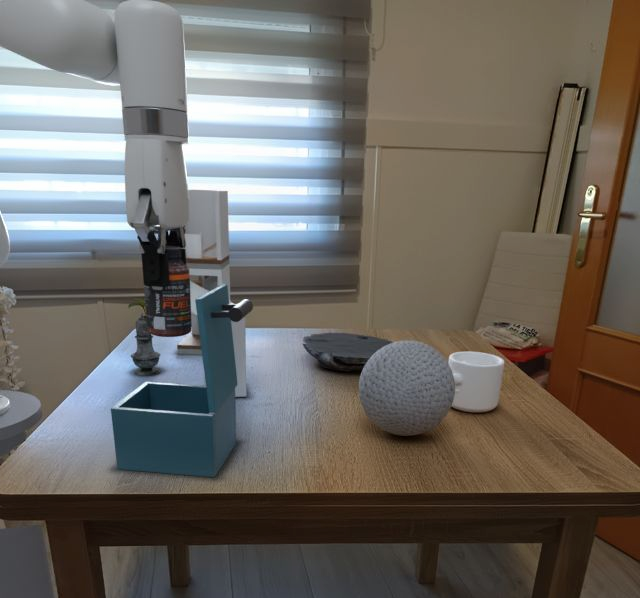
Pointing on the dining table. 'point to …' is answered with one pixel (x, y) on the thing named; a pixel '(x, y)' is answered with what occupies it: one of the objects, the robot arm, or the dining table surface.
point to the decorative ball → (406, 388)
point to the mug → (476, 380)
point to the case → (173, 430)
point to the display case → (205, 253)
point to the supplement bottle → (170, 300)
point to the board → (343, 349)
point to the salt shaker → (144, 351)
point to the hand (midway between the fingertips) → (166, 280)
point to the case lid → (219, 342)
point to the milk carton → (239, 355)
